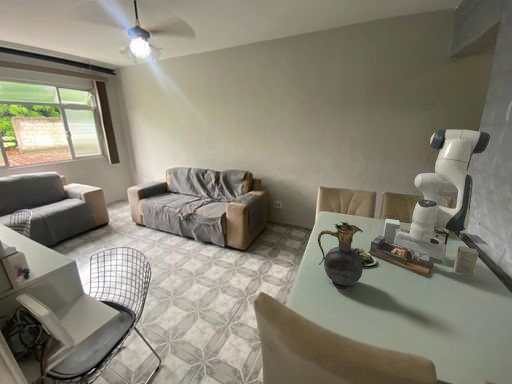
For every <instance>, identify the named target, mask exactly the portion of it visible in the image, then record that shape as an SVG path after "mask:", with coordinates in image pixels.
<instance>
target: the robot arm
mask: <svg viewBox="0 0 512 384" xmlns="http://www.w3.org/2000/svg"><path fill="white" fill-rule="evenodd" d="M491 142H492V141H491V135H490V133H488V132H485V131H481V130H480V131H477V130H473V129H472V130H471V129H446V128H440V129H437V130H436V131H435V132H434V133H433V134H432V136H431V137H430V142H429V143H430V147H431V148H432V149H434V150H436V151H439V152H438V156H437V158H436V160H435V167H434V172H423V173H419V174H417V175H416V176H415V178H414V186H415V187H416V188H417V189H418V190H419V191H420V192H421V193H422V195H423V197H424V198H423V199H421V200H418V201H417V203H416V204H415V207H414V209H413V214H412V217H411V218H412V222H411V225H410V230H409V229H404V228H401V227H400V229H399V230H398V229H396V232H395V234H396V236H395V239H394V244H393V245H395V246H397V247H400V248H406V249H408V250H409V251H410V252H411V254H412V259H415V260H417V261H419V260H420V259H422V257H424V256H423V255H427V256H430V257H433V258H435V259H438V260H444V259H445V258H446V256H447V255H446V253H447V244H446V245H445V243H444V242H445V237H443V236H441V235H439V234H437V233H435V232H434V226H438V227H440V228H441V229H443V230H444V231H445V232H447V233H448V234H449V236H450V233H449V231H450V232H453V233H459V232H462V231H465V230H467V229H468V227H469V225H470V210H471V204H472V203H471V202H472V195H473V185H474V182H473V178H472V175H470V174H468V170H467V169H468V168H467V167H468V164H469V161H470V159H471V158H470V157H471V154H472V155H475V154H476V155H477V154H482V153H484V152H485V150H488V148H489V146H490V144H491ZM439 192H445V193H457V200H456V205H455V208H451V207H448V205H449V203H448V200H447V199H446V198H444V197H442V196H441V195H439V194H438V193H439ZM449 236H448V238H449ZM415 252H416V253H419V254H418V255H416V253H415Z"/></svg>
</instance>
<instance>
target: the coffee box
mask: <svg viewBox="0 0 512 384" xmlns="http://www.w3.org/2000/svg"><path fill="white" fill-rule="evenodd" d="M434 232H435V233H437V234H439V235H441V236H443V237H445V242H444V243H445V245H446V246H447V243H448V240H449V237H448V236H450V233H449V232H448V233H449V234H448V233H447V232H445V231H444V230H443V229H441V228H440V227H438V226H434ZM422 257H424V258H425V260H426V261H429V262H432V263H443V260H444V259H443V260H438V259H435V258H433V257H430V256H427V255H423V256H422Z"/></svg>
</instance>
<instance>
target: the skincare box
mask: <svg viewBox="0 0 512 384" xmlns="http://www.w3.org/2000/svg"><path fill="white" fill-rule="evenodd" d="M478 258H479V252H478V250H477V248H471V247H466V246H461V245H458V249H457V252H456V256H455V260H454V264H453V271H454V273H456V274H460V275H464V276H468V277H473V276H474V272H475V269H476V265H477V262H478Z"/></svg>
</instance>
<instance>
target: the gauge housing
mask: <svg viewBox="0 0 512 384" xmlns="http://www.w3.org/2000/svg"><path fill="white" fill-rule="evenodd" d="M369 248H370V249H369V250H368V251H367V252H368V253H369V254H370V255H371V256H372V257H374V258H375V259H376V258H377V259H378V260H381V261H384V262H386V263H389V264H392V265H394V266H397V267H399V268H401V269H404V270H406V271H408V272H411V273H413V274H416V275H419V276H421V277H424V278H427V277H428V276H429V274H430V272H431V271H432V269H433V268H434V265H435V262H429V261H428V260H427V259H424V258H420V260H419V261H417V260H415V259H412V254H411V252H410V250H409V249H408V252H407V257H406V258H403V257H401V256H399V255H396V254H392V253H391V251H393V250H394V249H395V248H398V249H401V250H402V249H403V247H400V246H397V245H395V244H393V243H388V242H385V237H384V236H383V235H381V234H380V235H378V236H377V237H375V238H374V239H373V240H371V243H370V247H369Z"/></svg>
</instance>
